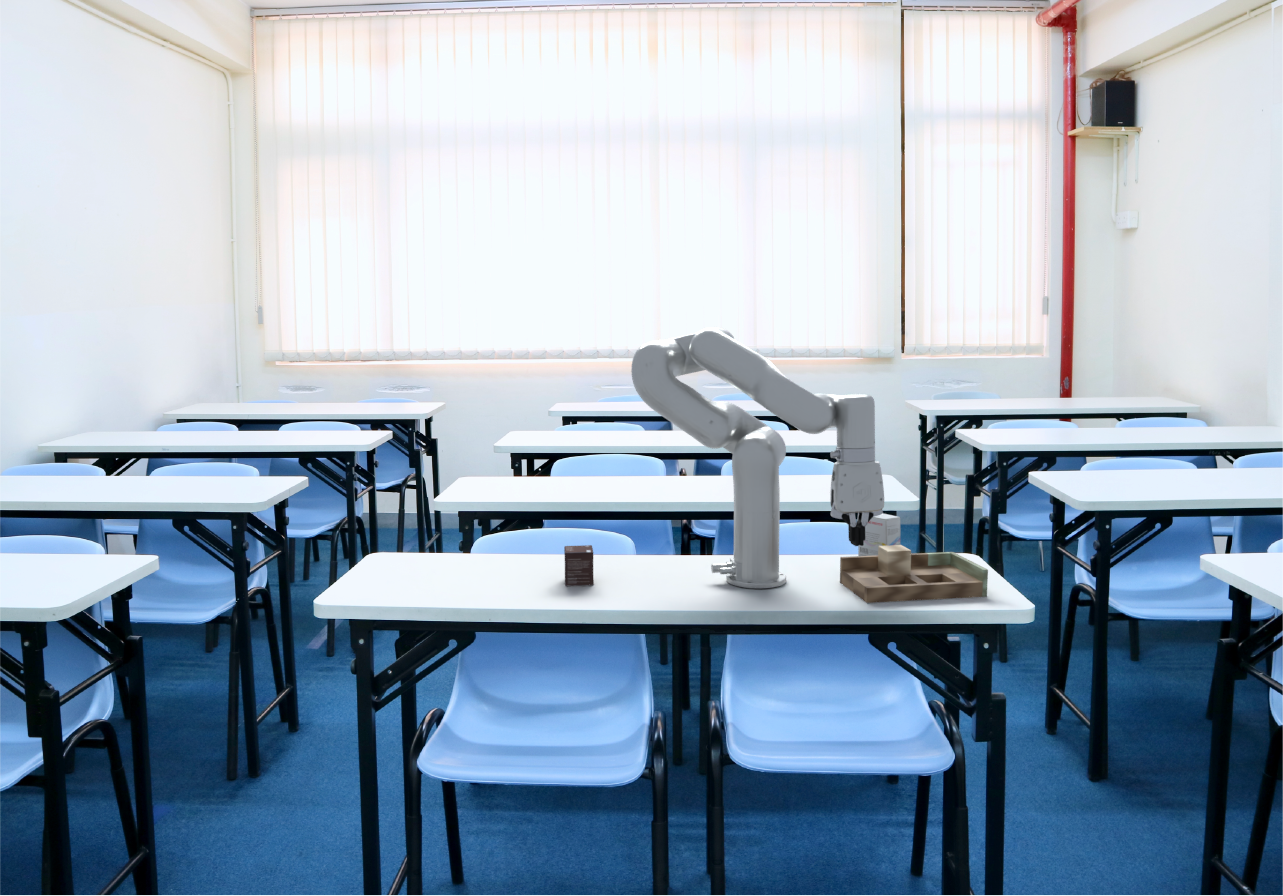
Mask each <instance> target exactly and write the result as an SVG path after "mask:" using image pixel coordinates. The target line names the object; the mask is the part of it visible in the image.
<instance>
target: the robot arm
mask: <svg viewBox="0 0 1283 896" xmlns="http://www.w3.org/2000/svg"><path fill="white" fill-rule="evenodd" d="M631 362H632V363H631V371H630V372H631V379H632V384H633V386H634V389H635V391H636V393H637V395H638V396H639V398H640V399H641V400H642V401H643V402H644V403H645V404H646V405H647V406H648V407H649V408H650V409H651V410H653V411H654V412H655V413H657V414H659V415H660V416H662V417H663V418H664V419H666V420H667V421H669V422H670V423H672V424H673V425H674V426H675V427H677V428H678V429H680V430H681V431H682V432H684V433H686V434H687V435H689V436H690V437H691V438H693V439H695V440H696V441H697V442H699V444H701V445H703V446H704V447H706V448H709V449H715V450H716V449H720V448H723V449H724V450H726V451H728V452H729V453H730V454H732V457H731V468H732V469H731V471H732V482H733V557H729V561H726V562H725V563H711V565H710V569H711V573H712V574H715V573H716V574H718V573H719V575H726V578H725V580H726V582H727V583H728V584H730V585H733V586H735V587H739V588H745V589H746V588H747V589H771V588H777V587H778V588H779V587H780V586H783V585H785V584H786V583H787V575H785V573H783V572H781V571H780V515H781V514H780V513H781V511H780V510H781V509H780V506H781V505H780V504H781V503H780V501H781V500H780V499H781V498H780V497H781V496H780V495H781V494H780V493H781V492H780V466H781V464H782V463H783V462H784V460H785V457H786V456H787V455H786V454H787V446H786V442H785V440H784V438H783V437H782V436H781V435H780V434H779V432H778V431H776V430H775V429H774V428H772V427H771V426H769V425H767V424H766V423H764V422H763V421H761V420H760V419H759V418H756V416H754V415H752V414H751V413H749V412H747V411H746V410H745V409H744V408H741V407H740V406H739V405H737V404H734V403H732V402H729V401H724V400H722V401H721V400H720V401H713V400H711V399H709V398H708V397H706V396H705V395H703V394H701V393H700V392H698V390H696V389H694V388H693V387H691V386H690V385H688V384H686V383H684V382H683V381H681V380H679V379H678V378H677V377H679V376H686V375H689V374H693V373H698V372H703V371H707V372H708V373H710V374H712V375H714V376H715V377H717V378H719V379H720V380H722V381H724V382H726V383H727V384H729V385H730V386H732V387H734V388H736V389H737V390H738V391H741V393H743V394H745V395H746V396H748V397H749V398H750V399H751V400H753V401H754V402H756V403H757V404H759V405H760V406H762V407H763V408H765V409H766V410H767V411H768V412H770V413H771V414H773V415H775V416H776V417H778V418H780V419H781V420H782V421H785V423H787V424H789V425H790V426H792V427H794V428H796V429H797V430H799V431H801V432H803V433H807V434H809V435H818V434H821V433H824V432H825V431H826V430H828V429H833V428H836V447H835V450H833V451H830V452H829V453H830V454H829V455H830V458H831V459H836V462H834V464H833V469H832V472H831V473H832V474H831V480H830V492H829V493H830V499H829V500H830V507H831V510H830V513H829V514H830V516H831V517H832V518H835V519H839V520H842V521H844V522H845V523H846V524H847V525H848V526H847V527H848V541H849V542H850V544H851V545H853V546H854V547H858V545H860V546H863V545H864V541H865V526H867V524H868V522H869V521H870V520H871V518H872V517H875V516H878V515H881V514H882V513H883V514H884V511H883V509H884V507H885V489H884V479H883V473H882V468H881V464H880V461H878V460H877V461H876V413H875V412H876V411H875V410H876V406H875V398H874V396H872V395H870V394H866V393H865V394H864V393H850V394H844V395H843V394H842V395H839V394H829V393H820V392H819V393H818V392H817V393H812V392H810V391H809V390H807V389H805V388H804V387H802V386H800V385H799V384H797V383H795V382H794V381H792V380H791V379H790V378H788V377H786V376H785V375H784V374H783V373H782V372H781V371H780V370H779V369H778V367H776V365H775V364H774V363H773V362H772V361H771V360H770V359H768V358H767V357H765V356H763V354H760V353H759V352H757V351H755V350H753V349H752V348H750V347H748V346H747V345H745V344H744V343H741V342H740V341H738V340H737V339H736V338H735V337H734V336H733V334H732V333H731V332H730V331H729V330H727V329H726V328H723V327H717V326H716V327H715V326H714V327H704V328H702V329H700V330H699V331H697V332H695V333H690V334H686V335H681V336H677V337H671V338H667V339H666V338H665V339H657V340H651V341H648V342H645V343H643V344H642V345H641V346H640V347H638V349H637V350H636V351H635V353H634V355H633V358H632V361H631ZM856 513H857V519H856Z"/></svg>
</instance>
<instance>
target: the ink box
mask: <svg viewBox="0 0 1283 896" xmlns="http://www.w3.org/2000/svg"><path fill="white" fill-rule="evenodd" d="M887 545H901V517H900V516H897V515H892V514H887V513H884V512H883V513H882V514H881V515H878V516H875V517H872V518H871V520H870V521H869V522H868V524H867V526H865V541H864V545H863V546H860V545H858V546H857V547H858V549H857V550H858V555H857V556H873V555H878V546H887Z"/></svg>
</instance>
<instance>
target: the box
mask: <svg viewBox="0 0 1283 896" xmlns="http://www.w3.org/2000/svg"><path fill="white" fill-rule="evenodd" d="M593 548H594V547H593V545H591V544H587V545H564V550H563V551H564V586H565V587H575V586H576V587H577V586H582V587H584V586H594V585H595V583H594V549H593Z"/></svg>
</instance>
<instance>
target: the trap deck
mask: <svg viewBox="0 0 1283 896" xmlns="http://www.w3.org/2000/svg"><path fill="white" fill-rule="evenodd" d="M839 564H840V565H839V568H840V569H839V583H840V584H841V585H842V584H843V585H842V586H844V587H845V588H847V589H848V590H849V591H851V592H852V593H853V594H854V595H855V596H857V597H858V598H859V599H861V600H862V601H863V602H865V603H867V604H870V603H871V604H873V603H874V604H875V603H890V602H891V603H892V602H893V603H894V602H895V603H896V602H908V601H909V602H910V601H926V600H927V601H929V600H931V601H932V600H948V599H964V598H965V599H967V598H968V599H969V598H987V597H988V578H989V569H987V568H986V567H983V566H981V565H979V564H978V563H976V562H974V561H972V560H970V559H968V558H966V557H964V556H962V555H960V554H959V553H956V552H954V551H945V552H944V551H943V552H924V553H922V552H921V553H919V552H917V553H911V574H908V575H886V574H884V573H883V572H881V571H880V570H878V555H873V556H858V555H855V556H854V555H853V556H852V555H851V556H840V561H839Z"/></svg>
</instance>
